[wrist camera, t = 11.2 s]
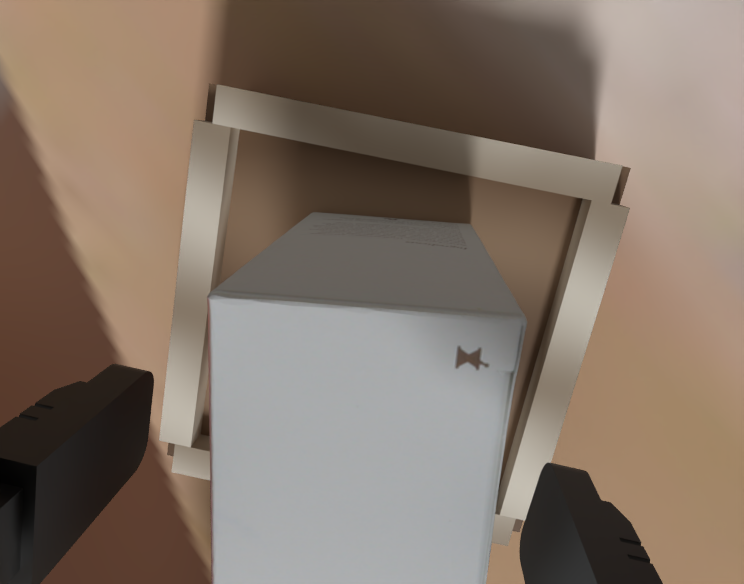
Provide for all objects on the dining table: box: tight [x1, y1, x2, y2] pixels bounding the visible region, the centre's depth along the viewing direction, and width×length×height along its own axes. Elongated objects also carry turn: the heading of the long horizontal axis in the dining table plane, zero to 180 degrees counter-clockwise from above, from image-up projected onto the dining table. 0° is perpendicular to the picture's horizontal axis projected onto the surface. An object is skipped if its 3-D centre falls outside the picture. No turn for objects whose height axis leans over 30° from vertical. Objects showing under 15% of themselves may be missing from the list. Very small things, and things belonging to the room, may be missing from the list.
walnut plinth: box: [159, 84, 631, 546], centre depth 22 cm, size 14×14×5 cm
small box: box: [207, 212, 527, 584], centre depth 16 cm, size 8×6×10 cm
